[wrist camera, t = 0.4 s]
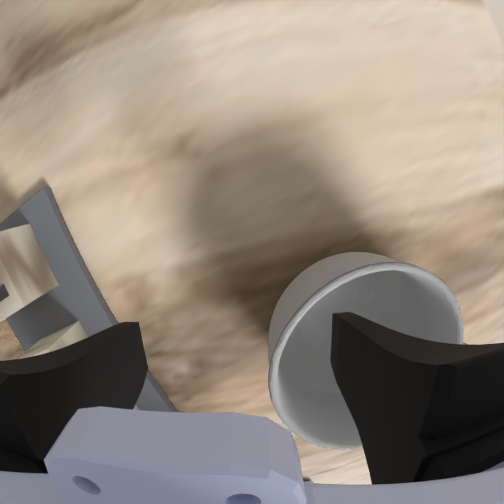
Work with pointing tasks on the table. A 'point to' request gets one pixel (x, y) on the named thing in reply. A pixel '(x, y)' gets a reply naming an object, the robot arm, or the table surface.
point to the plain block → (57, 340)
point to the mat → (67, 290)
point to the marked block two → (22, 270)
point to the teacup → (320, 332)
